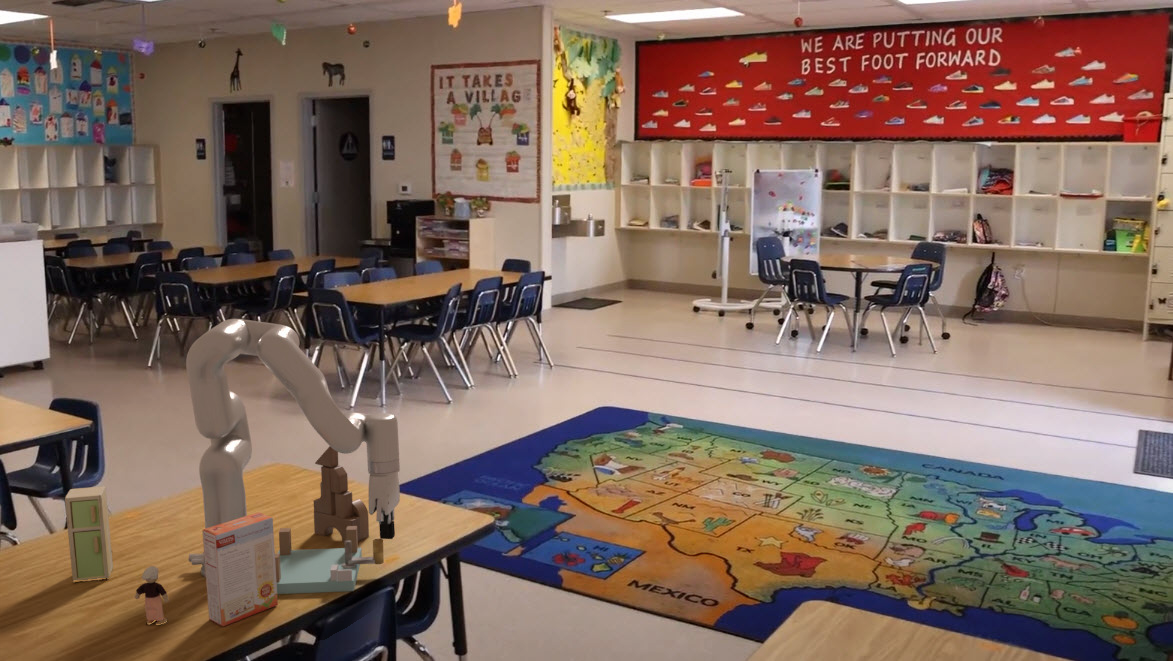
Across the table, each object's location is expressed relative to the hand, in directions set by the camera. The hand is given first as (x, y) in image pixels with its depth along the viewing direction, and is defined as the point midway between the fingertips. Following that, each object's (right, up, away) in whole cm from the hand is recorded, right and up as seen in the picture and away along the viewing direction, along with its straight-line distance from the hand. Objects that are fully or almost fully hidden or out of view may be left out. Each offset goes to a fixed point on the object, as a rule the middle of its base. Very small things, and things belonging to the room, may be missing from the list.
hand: (387, 537), depth 257 cm
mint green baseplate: (-16, -8, -4) cm, 19 cm away
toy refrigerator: (-69, -8, -7) cm, 69 cm away
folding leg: (-5, -5, -4) cm, 8 cm away
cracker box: (-27, -12, -24) cm, 38 cm away
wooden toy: (-17, -4, +21) cm, 27 cm away
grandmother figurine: (-45, -13, -29) cm, 55 cm away
